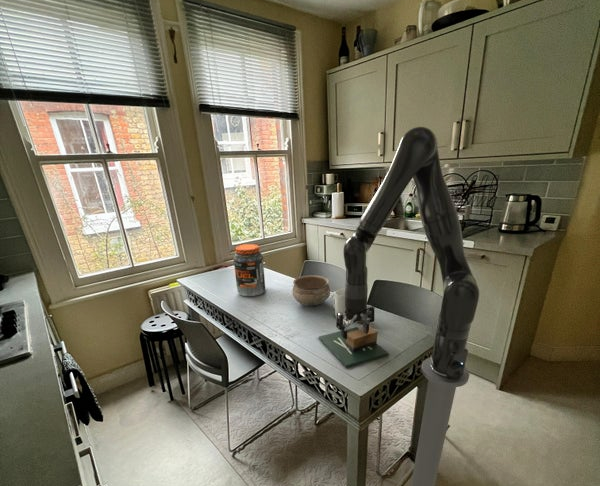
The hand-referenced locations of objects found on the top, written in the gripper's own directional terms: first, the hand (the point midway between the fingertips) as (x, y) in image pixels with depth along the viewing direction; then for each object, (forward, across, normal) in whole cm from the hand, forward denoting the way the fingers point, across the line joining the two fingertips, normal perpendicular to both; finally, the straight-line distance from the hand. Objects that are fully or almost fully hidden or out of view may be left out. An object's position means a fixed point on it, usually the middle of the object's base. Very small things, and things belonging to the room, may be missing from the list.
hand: (355, 335), depth 114 cm
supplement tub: (+8, -19, +79) cm, 82 cm away
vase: (+9, +18, +22) cm, 30 cm away
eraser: (+8, +6, +4) cm, 11 cm away
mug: (+9, +12, +32) cm, 36 cm away
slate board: (+9, +2, +6) cm, 11 cm away
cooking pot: (+8, +5, +50) cm, 50 cm away
